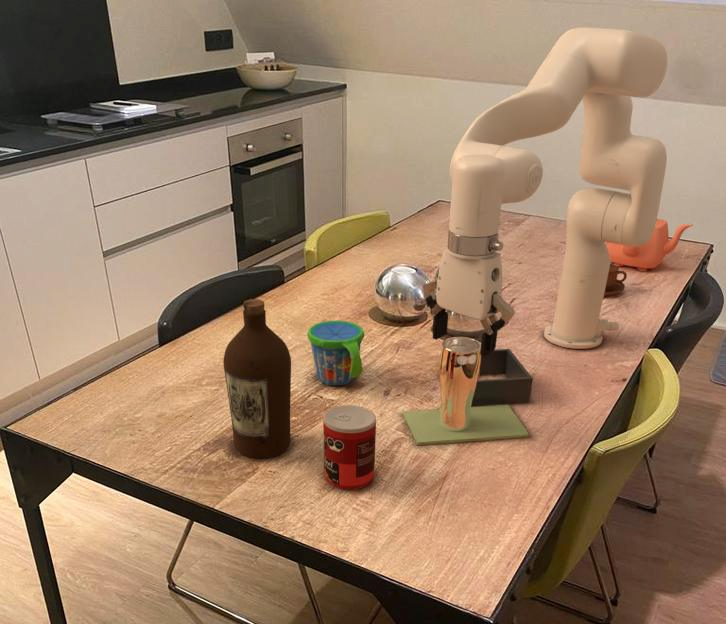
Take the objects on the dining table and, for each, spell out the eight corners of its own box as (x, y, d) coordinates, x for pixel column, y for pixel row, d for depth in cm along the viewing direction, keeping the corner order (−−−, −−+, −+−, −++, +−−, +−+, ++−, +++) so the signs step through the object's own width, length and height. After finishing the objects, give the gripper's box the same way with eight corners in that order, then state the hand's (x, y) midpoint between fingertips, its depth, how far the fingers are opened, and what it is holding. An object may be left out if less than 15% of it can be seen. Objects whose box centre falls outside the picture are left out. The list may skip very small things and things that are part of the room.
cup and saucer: (605, 281, 201) (610, 257, 198) (632, 296, 192) (638, 272, 188) (566, 285, 198) (570, 261, 194) (591, 301, 188) (596, 276, 185)
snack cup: (296, 367, 154) (294, 319, 148) (343, 358, 158) (343, 312, 152) (327, 400, 142) (327, 350, 136) (377, 390, 146) (379, 341, 140)
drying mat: (507, 407, 142) (508, 404, 141) (528, 437, 133) (529, 434, 132) (403, 414, 138) (403, 411, 138) (416, 445, 130) (417, 442, 129)
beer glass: (472, 435, 132) (481, 355, 123) (432, 430, 133) (438, 350, 124) (475, 416, 137) (484, 338, 129) (437, 411, 138) (443, 334, 130)
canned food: (322, 464, 124) (322, 405, 118) (371, 463, 124) (373, 404, 118) (325, 491, 118) (324, 430, 111) (376, 490, 118) (378, 428, 112)
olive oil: (249, 423, 134) (239, 286, 120) (304, 436, 131) (300, 296, 117) (219, 453, 126) (204, 309, 112) (276, 466, 123) (268, 320, 109)
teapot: (681, 273, 208) (695, 221, 200) (620, 276, 204) (632, 224, 196) (646, 252, 222) (658, 203, 215) (589, 255, 219) (598, 206, 211)
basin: (506, 371, 154) (509, 348, 151) (529, 402, 143) (533, 378, 141) (442, 375, 152) (444, 352, 149) (460, 407, 141) (463, 382, 138)
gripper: (533, 249, 115) (519, 353, 124) (442, 225, 124) (435, 324, 134) (506, 261, 110) (493, 368, 120) (413, 235, 119) (408, 337, 129)
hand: (462, 345), depth 127 cm, fingers open, 9 cm apart
